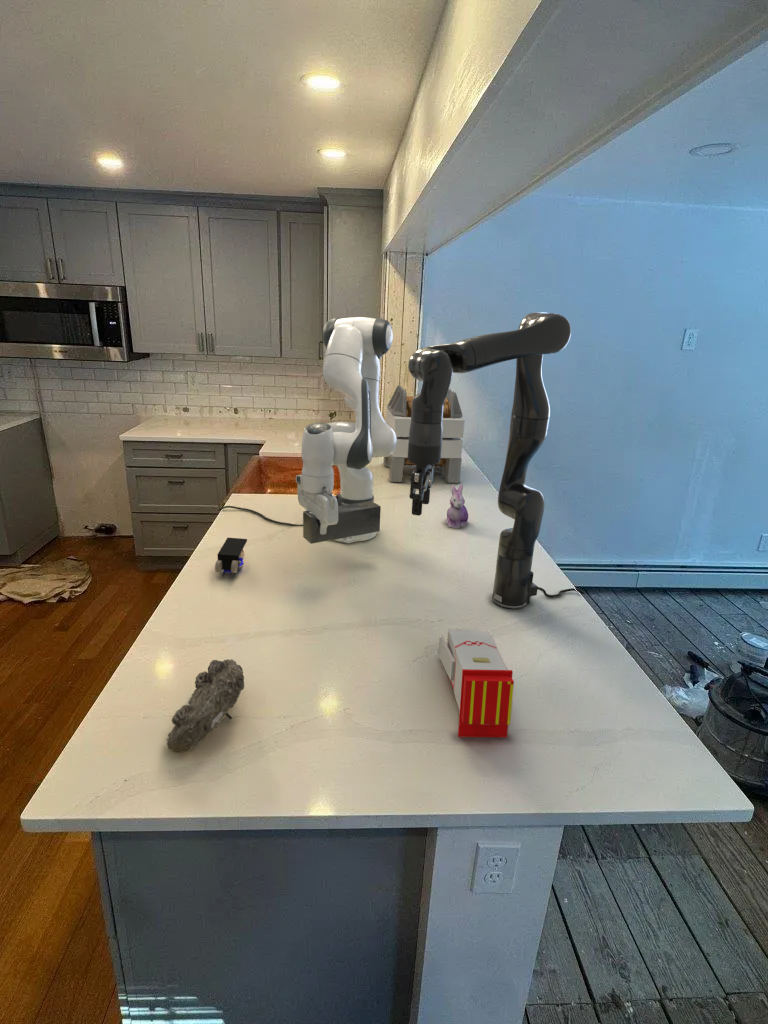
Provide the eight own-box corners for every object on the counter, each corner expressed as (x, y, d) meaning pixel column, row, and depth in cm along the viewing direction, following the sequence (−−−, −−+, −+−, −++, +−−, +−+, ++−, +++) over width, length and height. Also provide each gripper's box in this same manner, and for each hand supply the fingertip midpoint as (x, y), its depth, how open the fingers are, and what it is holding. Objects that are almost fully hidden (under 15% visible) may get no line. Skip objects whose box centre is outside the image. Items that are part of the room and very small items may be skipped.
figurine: (453, 530, 205) (457, 490, 200) (438, 521, 213) (441, 482, 208) (475, 527, 209) (479, 488, 204) (459, 517, 217) (462, 480, 212)
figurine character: (238, 584, 162) (249, 557, 175) (236, 562, 158) (247, 536, 172) (215, 584, 161) (227, 556, 175) (212, 561, 158) (225, 535, 171)
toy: (488, 613, 130) (523, 677, 101) (484, 667, 133) (517, 744, 104) (435, 612, 130) (455, 676, 101) (432, 666, 133) (451, 743, 103)
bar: (310, 543, 159) (310, 517, 156) (303, 537, 163) (302, 511, 160) (379, 531, 170) (380, 506, 167) (370, 525, 174) (371, 500, 171)
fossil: (192, 660, 117) (244, 628, 112) (224, 691, 120) (276, 661, 115) (142, 746, 98) (202, 712, 93) (182, 779, 101) (242, 748, 96)
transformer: (382, 463, 289) (386, 382, 275) (445, 464, 293) (451, 384, 279) (390, 482, 257) (394, 392, 243) (460, 483, 261) (468, 394, 247)
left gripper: (344, 492, 150) (343, 540, 155) (313, 472, 166) (313, 516, 171) (322, 494, 147) (322, 544, 151) (293, 474, 163) (293, 519, 168)
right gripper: (435, 449, 120) (430, 521, 126) (447, 436, 133) (441, 502, 138) (401, 446, 122) (397, 516, 127) (416, 433, 135) (412, 498, 140)
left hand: (317, 529), depth 161 cm, fingers closed on bar, 5 cm apart
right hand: (420, 509), depth 133 cm, fingers open, 8 cm apart
